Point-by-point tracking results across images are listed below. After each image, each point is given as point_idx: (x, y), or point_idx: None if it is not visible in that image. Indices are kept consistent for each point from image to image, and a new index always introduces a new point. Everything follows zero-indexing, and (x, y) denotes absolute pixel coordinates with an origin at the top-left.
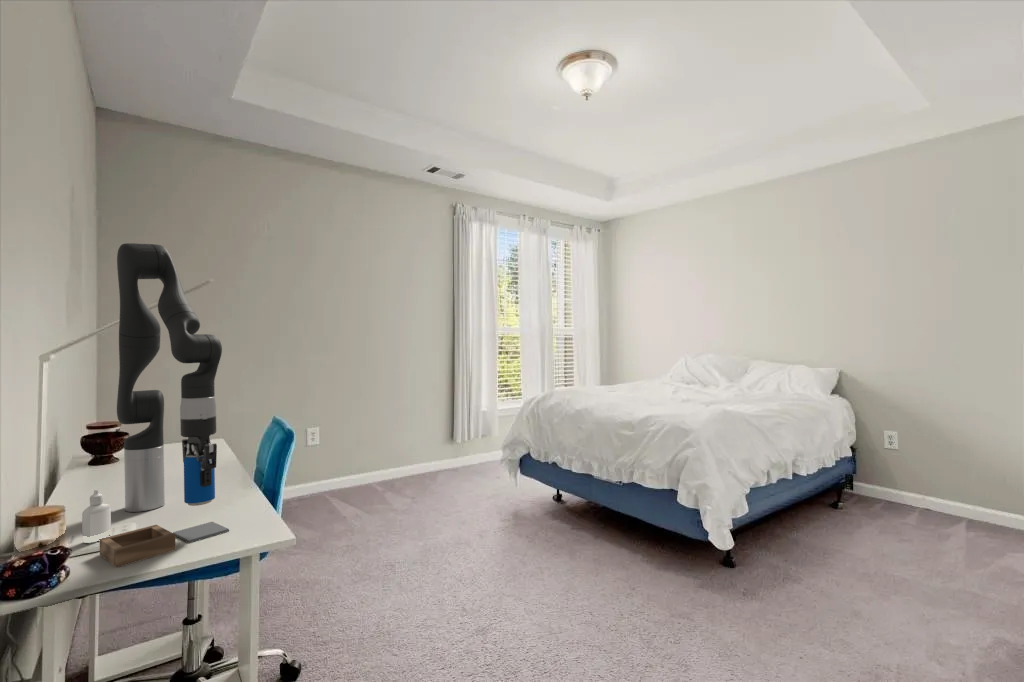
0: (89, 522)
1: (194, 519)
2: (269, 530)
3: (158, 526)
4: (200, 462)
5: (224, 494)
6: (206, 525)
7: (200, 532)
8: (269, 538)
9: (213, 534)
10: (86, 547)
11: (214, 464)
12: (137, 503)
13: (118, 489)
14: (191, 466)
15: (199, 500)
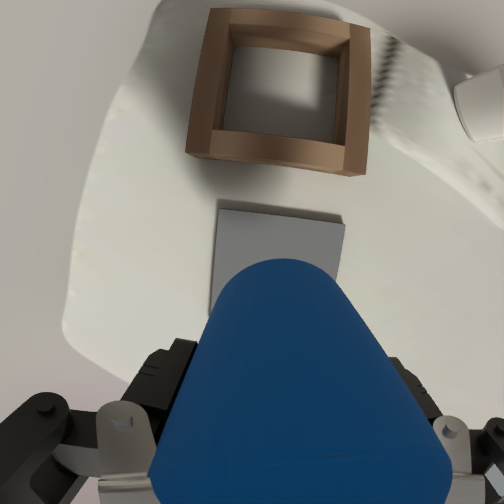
0: (485, 72)
1: (405, 325)
2: (129, 364)
3: (335, 165)
4: (108, 471)
5: None
6: None
7: None
8: (82, 329)
9: (213, 281)
10: (437, 72)
11: (47, 457)
12: None
13: None
14: (210, 417)
15: (218, 296)
